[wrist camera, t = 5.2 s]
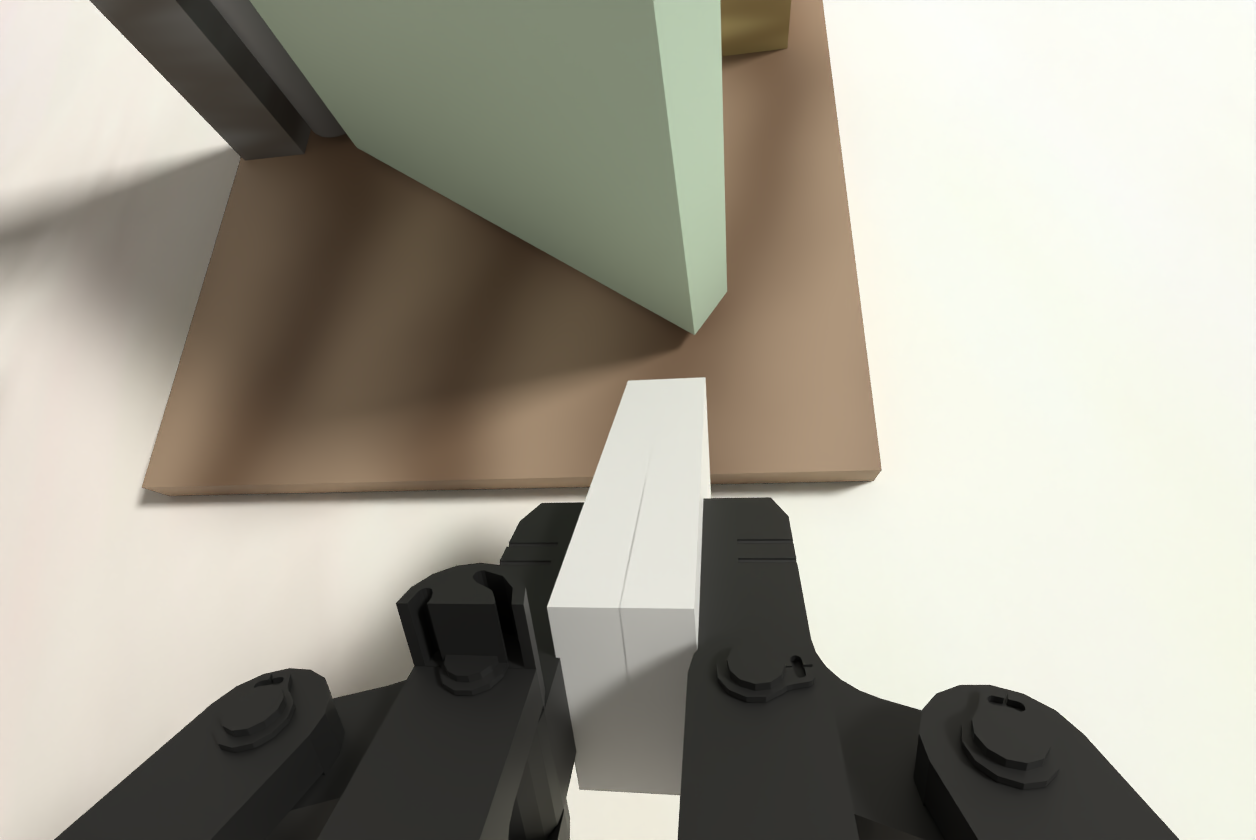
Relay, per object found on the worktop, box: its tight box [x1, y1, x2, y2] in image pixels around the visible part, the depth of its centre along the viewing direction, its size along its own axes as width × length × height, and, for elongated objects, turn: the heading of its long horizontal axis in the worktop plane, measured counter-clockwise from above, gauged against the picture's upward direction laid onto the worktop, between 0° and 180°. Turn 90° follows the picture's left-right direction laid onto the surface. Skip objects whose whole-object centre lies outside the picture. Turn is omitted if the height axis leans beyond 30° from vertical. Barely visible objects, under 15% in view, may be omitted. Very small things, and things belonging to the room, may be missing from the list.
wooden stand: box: [90, 0, 881, 496], centre depth 16 cm, size 21×18×13 cm
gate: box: [210, 0, 727, 335], centre depth 15 cm, size 17×2×11 cm, turn 54°
